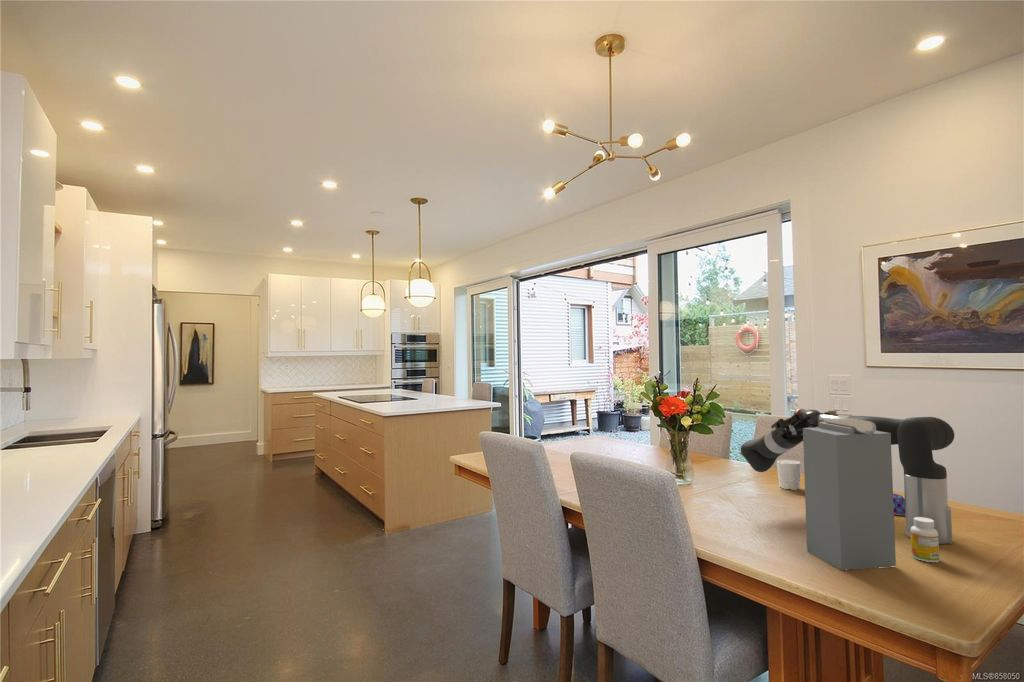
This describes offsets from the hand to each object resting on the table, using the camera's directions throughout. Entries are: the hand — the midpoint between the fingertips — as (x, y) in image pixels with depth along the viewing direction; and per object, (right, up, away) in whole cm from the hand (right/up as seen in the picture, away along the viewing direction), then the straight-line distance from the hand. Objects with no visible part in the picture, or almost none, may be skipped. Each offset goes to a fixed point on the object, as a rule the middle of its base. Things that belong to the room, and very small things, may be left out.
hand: (814, 415), depth 138 cm
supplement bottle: (+20, -34, -13) cm, 41 cm away
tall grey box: (+2, -34, -12) cm, 36 cm away
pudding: (+41, -35, +25) cm, 59 cm away
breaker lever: (+1, -2, -6) cm, 7 cm away
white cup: (+23, -36, +54) cm, 69 cm away
